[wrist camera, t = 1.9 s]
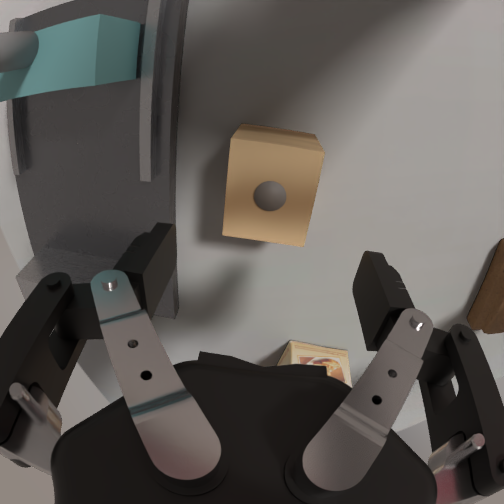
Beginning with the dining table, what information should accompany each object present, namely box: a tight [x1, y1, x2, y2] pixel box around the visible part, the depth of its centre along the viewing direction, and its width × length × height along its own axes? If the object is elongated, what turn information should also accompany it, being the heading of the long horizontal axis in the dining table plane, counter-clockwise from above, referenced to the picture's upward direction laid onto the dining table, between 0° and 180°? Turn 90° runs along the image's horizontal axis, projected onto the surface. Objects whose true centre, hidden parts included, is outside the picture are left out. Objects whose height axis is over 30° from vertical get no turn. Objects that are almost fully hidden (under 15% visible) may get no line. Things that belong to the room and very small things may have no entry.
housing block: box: [222, 124, 325, 247], centre depth 19 cm, size 6×5×5 cm
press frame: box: [7, 0, 189, 319], centre depth 19 cm, size 28×16×6 cm, turn 173°
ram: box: [0, 14, 141, 102], centre depth 10 cm, size 5×11×11 cm, turn 83°
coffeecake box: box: [277, 340, 352, 388], centre depth 27 cm, size 15×7×20 cm, turn 167°
